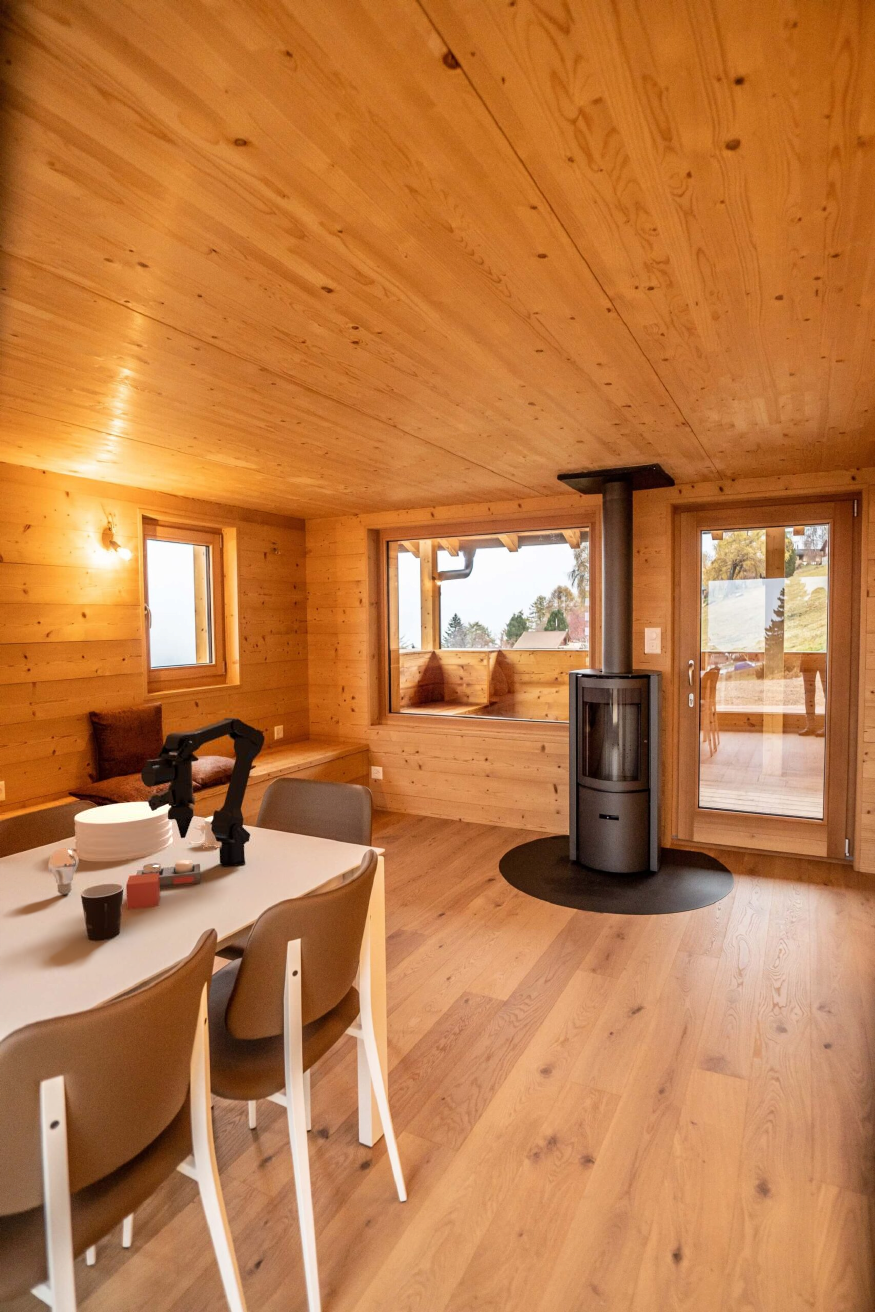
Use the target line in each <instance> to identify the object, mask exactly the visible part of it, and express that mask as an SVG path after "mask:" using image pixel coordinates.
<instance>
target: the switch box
mask: <svg viewBox="0 0 875 1312" xmlns="http://www.w3.org/2000/svg"><path fill="white" fill-rule="evenodd" d="M192 865H193V870H192V871H190V872H187V873H176V872H175V865H174V866H168V867H167V866H166V867H161V874H159V880H160V889H164V888H165V889H166V888H176V887H182V886H183V887H185V886H192V885H200V884H201V883H200V882H201V863H195V864H193V863H192ZM141 874H143V869H140V870H139V869H138V870H137V871H136V874H135V875H141Z"/></svg>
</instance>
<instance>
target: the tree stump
mask: <svg viewBox="0 0 875 1312" xmlns="http://www.w3.org/2000/svg"><path fill="white" fill-rule="evenodd" d="M212 820H213V815H212V816H208V817H206V818H204V821H203V822H204V824H203V825H202V824H199V823H198V824H195V826H198V827H194V829H196V830H200V831H201V834H200V837H201V836H203V835H204V839H205V840H204V839H203V840H200V841H197V842H196V843H200V844H199V845H200V846H199V845H197V847H201V845H203V846H202V847H203V849H205V848H204V847H207V848H209V847H208V846H210V845H216V846H217V847H218V846H220V845H221V842H217V841H216V838H215V836H214V835H213V832H212V831H211V828H212V825H211V822H212ZM190 842H191V843H194V842H193V841H190ZM204 844H206V845H204ZM210 847H211V846H210Z"/></svg>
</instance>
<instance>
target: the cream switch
mask: <svg viewBox="0 0 875 1312" xmlns="http://www.w3.org/2000/svg"><path fill="white" fill-rule="evenodd" d="M174 866H175V872H176V873H187V872H190V871H192V870H193V860H192V859H181V860H178V861H175V863H174Z"/></svg>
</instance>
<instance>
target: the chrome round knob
mask: <svg viewBox="0 0 875 1312" xmlns="http://www.w3.org/2000/svg"><path fill="white" fill-rule="evenodd" d="M161 868H162V865H161V863H157V862H154V863H148V864H144V865H143V866H142V870H143V874H150V873H159V874H161Z"/></svg>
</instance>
